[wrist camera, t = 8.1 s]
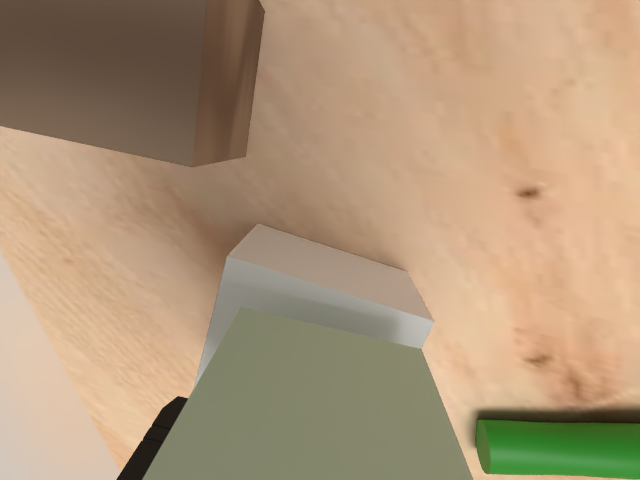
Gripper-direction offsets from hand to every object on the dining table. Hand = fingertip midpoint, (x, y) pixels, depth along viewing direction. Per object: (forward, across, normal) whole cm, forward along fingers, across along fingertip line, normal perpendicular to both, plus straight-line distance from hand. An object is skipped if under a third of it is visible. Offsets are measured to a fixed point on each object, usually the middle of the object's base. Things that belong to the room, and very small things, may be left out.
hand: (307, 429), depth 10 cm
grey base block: (+8, 0, 0) cm, 8 cm away
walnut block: (+8, +8, -10) cm, 15 cm away
